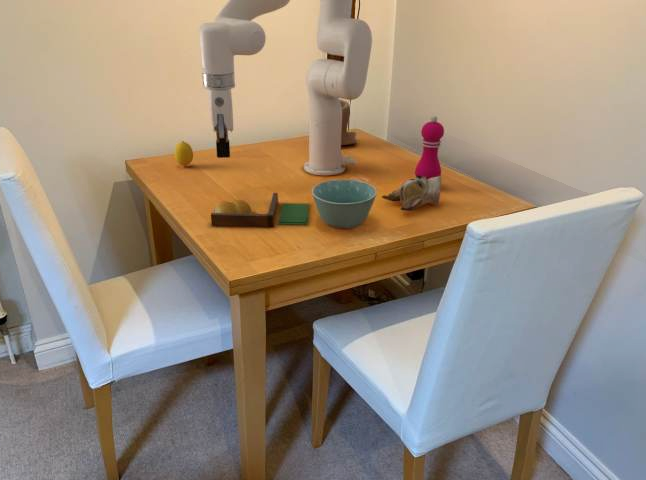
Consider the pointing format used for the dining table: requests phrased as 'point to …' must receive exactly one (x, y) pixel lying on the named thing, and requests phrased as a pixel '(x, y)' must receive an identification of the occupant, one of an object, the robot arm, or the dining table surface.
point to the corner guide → (247, 217)
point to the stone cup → (346, 136)
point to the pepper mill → (430, 150)
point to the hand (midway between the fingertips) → (223, 156)
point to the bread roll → (233, 207)
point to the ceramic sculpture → (417, 192)
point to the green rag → (293, 214)
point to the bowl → (343, 202)
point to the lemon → (183, 153)
